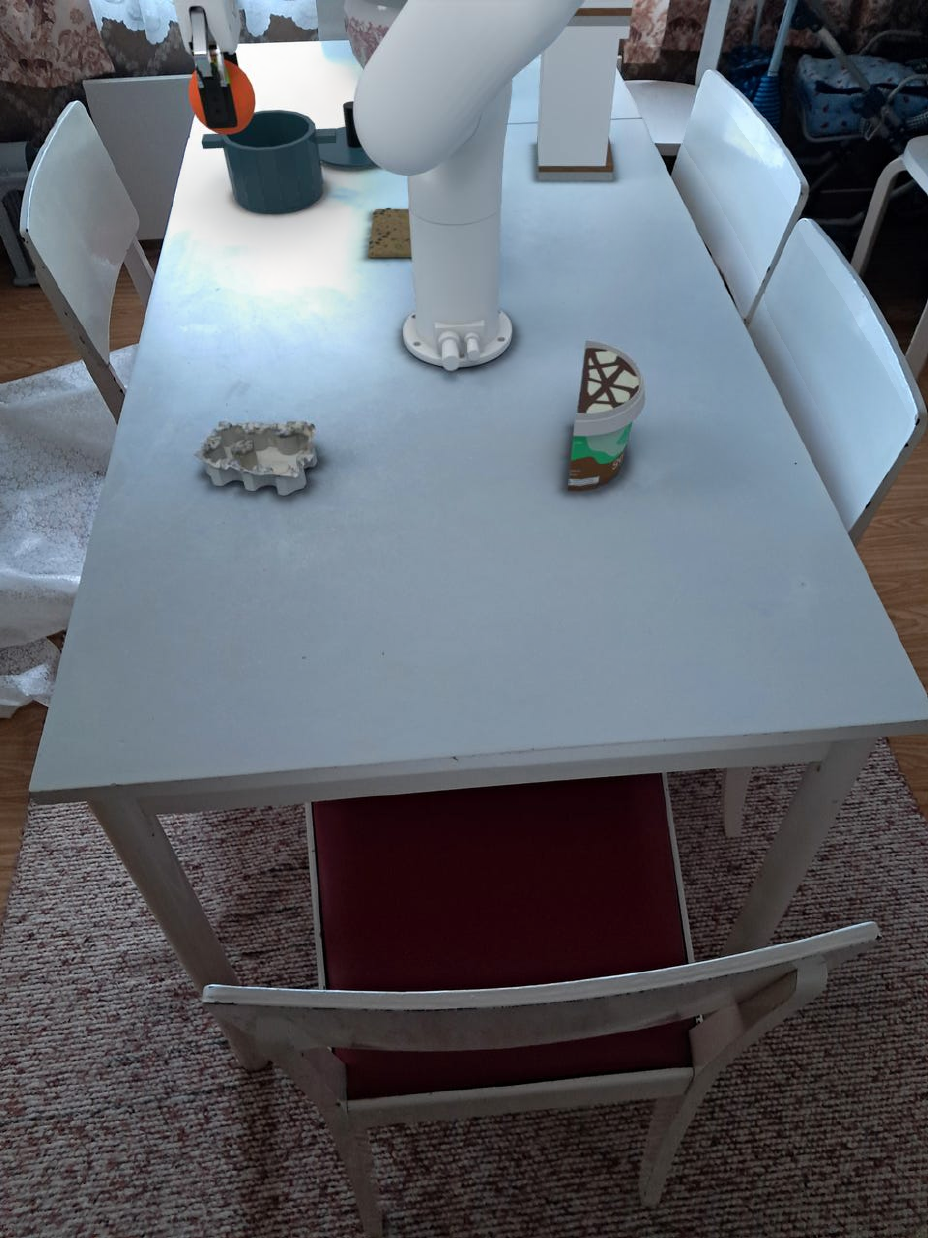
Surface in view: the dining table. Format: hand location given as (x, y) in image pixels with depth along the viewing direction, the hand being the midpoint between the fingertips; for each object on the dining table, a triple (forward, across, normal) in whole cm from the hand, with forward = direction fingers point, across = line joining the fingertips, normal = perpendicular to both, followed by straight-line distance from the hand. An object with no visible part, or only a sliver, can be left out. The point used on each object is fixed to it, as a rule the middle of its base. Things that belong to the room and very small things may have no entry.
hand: (225, 109), depth 93 cm
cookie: (+20, +9, -20) cm, 30 cm away
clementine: (+3, 0, 0) cm, 3 cm away
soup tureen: (+20, +60, -24) cm, 68 cm away
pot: (+20, +24, -1) cm, 31 cm away
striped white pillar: (+20, +28, -44) cm, 56 cm away
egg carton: (+20, -36, -2) cm, 41 cm away
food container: (+20, -38, -36) cm, 56 cm away
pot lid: (+19, +35, -12) cm, 42 cm away
